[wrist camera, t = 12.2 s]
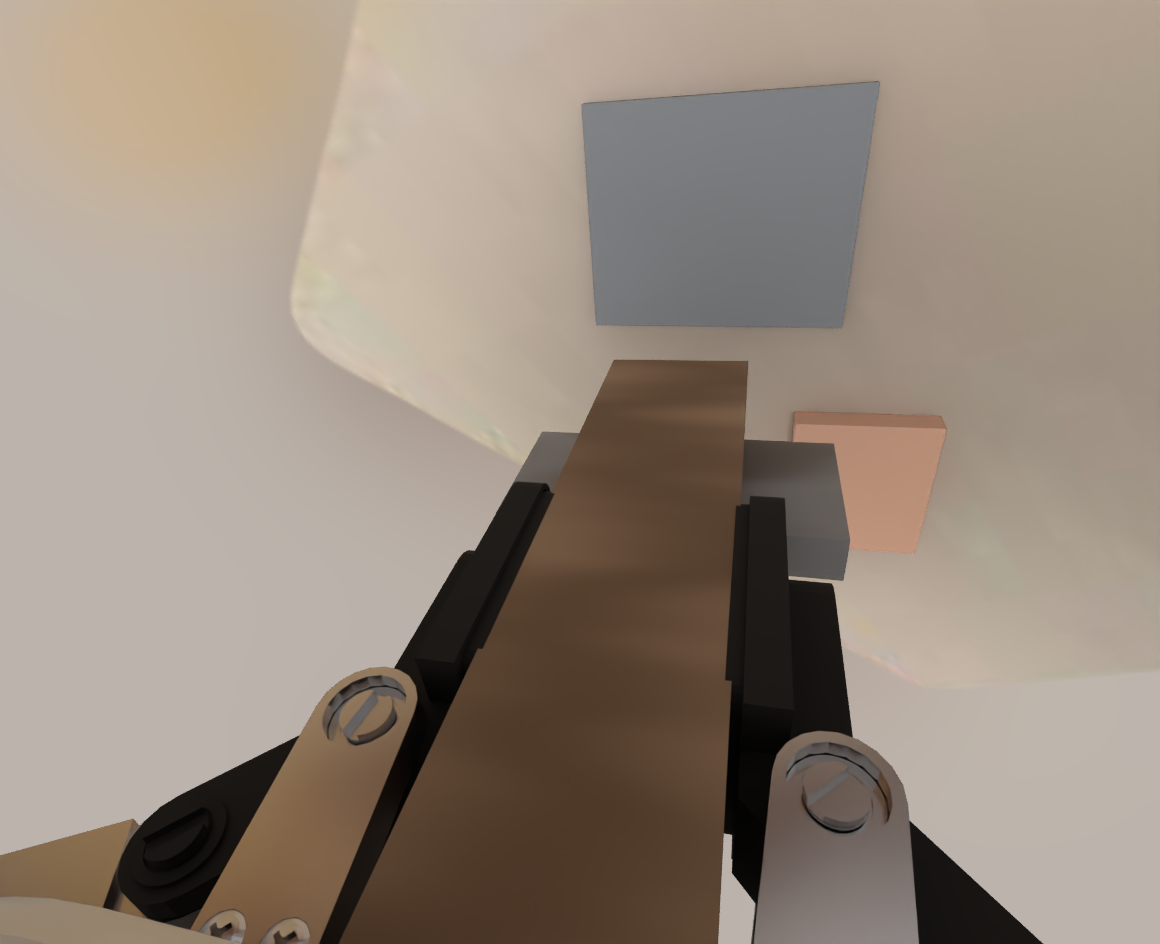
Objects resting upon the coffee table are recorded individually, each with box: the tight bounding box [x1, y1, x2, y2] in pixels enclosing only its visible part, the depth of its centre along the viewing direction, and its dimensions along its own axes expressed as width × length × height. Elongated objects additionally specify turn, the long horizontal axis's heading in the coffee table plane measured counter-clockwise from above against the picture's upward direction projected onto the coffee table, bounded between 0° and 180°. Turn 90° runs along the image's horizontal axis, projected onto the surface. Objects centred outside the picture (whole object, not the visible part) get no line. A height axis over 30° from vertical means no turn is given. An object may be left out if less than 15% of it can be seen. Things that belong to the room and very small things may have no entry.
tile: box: [792, 412, 947, 554], centre depth 35 cm, size 7×2×8 cm
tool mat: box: [582, 81, 880, 328], centre depth 29 cm, size 12×10×1 cm
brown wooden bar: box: [339, 360, 850, 944], centre depth 9 cm, size 7×3×14 cm, turn 95°
